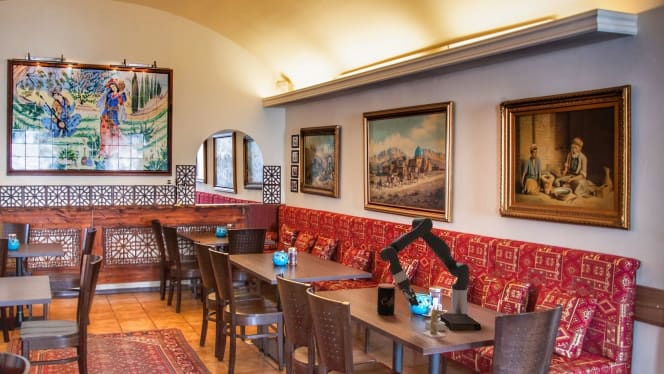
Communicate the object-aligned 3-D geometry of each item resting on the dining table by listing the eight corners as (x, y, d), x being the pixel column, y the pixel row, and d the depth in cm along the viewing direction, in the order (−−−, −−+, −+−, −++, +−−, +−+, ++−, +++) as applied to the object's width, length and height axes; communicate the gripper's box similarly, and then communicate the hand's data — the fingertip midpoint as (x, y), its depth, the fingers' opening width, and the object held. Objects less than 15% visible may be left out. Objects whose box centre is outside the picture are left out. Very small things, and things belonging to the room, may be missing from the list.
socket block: (437, 326, 398) (437, 319, 397) (444, 330, 390) (445, 323, 390) (425, 327, 394) (425, 320, 394) (432, 331, 387) (432, 324, 387)
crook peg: (429, 333, 377) (430, 310, 377) (431, 332, 381) (432, 309, 380) (441, 335, 375) (442, 311, 374) (443, 334, 378) (444, 310, 378)
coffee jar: (380, 316, 421) (381, 286, 420) (374, 312, 431) (375, 283, 430) (396, 315, 423) (397, 286, 423) (390, 311, 434) (391, 283, 433)
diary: (466, 321, 416) (467, 313, 416) (481, 332, 391) (481, 323, 391) (436, 321, 413) (437, 312, 413) (449, 331, 389) (449, 323, 388)
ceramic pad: (436, 332, 384) (436, 331, 384) (445, 336, 376) (445, 335, 376) (422, 333, 381) (422, 332, 381) (431, 337, 372) (431, 336, 372)
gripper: (410, 276, 381) (424, 302, 380) (404, 277, 395) (417, 302, 394) (399, 282, 379) (413, 309, 378) (393, 283, 393) (406, 308, 392)
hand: (415, 305), depth 386 cm, fingers open, 8 cm apart
